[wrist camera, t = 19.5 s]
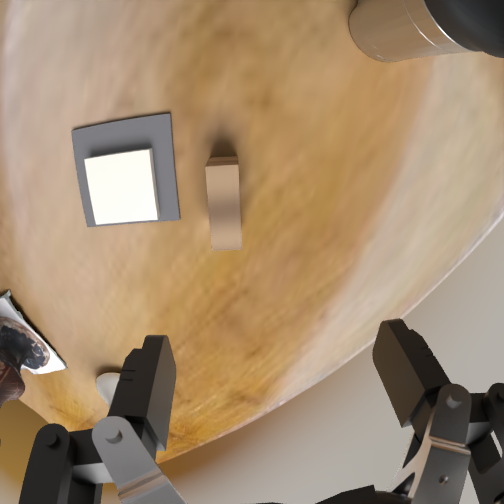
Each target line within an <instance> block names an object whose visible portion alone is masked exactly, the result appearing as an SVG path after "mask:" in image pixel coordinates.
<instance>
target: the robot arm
mask: <svg viewBox="0 0 504 504" xmlns="http://www.w3.org/2000/svg"><path fill="white" fill-rule="evenodd" d="M349 29H350V33H351V36H352V38H353V40H354V42H355V43H356V45H357V46H358V47H359V48H360V49H361V50H362V51H363V52H364V53H365V54H366V55H368V56H369V57H371V58H373V59H375V60H378V61H381V62H396V61H402V60H407V59H413V58H420V57H427V56H435V55H443V54H453V53H463V52H477V51H483V52H485V53H487V54H489V55H492V56H495V57H499V58H504V0H358V5H357V6H356V8H355V9H354V10H353V11H352V13H351V15H350V19H349ZM373 362H374V365H375V367H376V369H377V371H378V373H379V376H380V378H381V380H382V382H383V385H384V387H385V389H386V392H387V394H388V396H389V398H390V401H391V403H392V406H393V408H394V410H395V413H396V415H397V417H398V420H399V422H400V425H401V427H402V428H403V427H406V426H409V425H412V426H413V429H414V430H413V432H412V433H411V437H410V439H409V442H408V445H407V448H406V451H405V453H404V456H403V459H402V461H401V464H400V466H399V469H398V471H397V473H396V475H395V477H394V478H393V480H392V481H391V483H390V485H389V486H388V488H387V490H386V491H375V488H374V485H370V486H366V487H362V488H358V489H354V490H349V491H345V492H341V493H339V494H337V495H335V496H333V497H330V498H328V499H326V500H323V501H321V502H318V503H316V504H459V501H460V497H461V494H462V490H463V487H464V483H465V478H466V475H467V470H468V471H469V473H470V476H471V479H472V482H473V485H474V488H475V491H476V494H477V497H478V500H479V504H504V383H495V384H493V385H492V386H491V387H490V389H489V390H488V392H487V393H469V392H468V391H467V389H465V388H464V387H462V386H461V385H458V384H452V383H451V382H450V381H449V379H448V377H447V375H446V374H445V372H444V370H443V369H442V367H441V365H440V364H439V362H438V361H437V359H436V357H435V356H433V353H432V351H431V349H430V348H428V345H427V343H426V342H425V340H424V339H423V337H422V336H420V335H419V334H418V333H417V332H415V331H414V330H413V329H412V330H409V329H408V327H407V326H406V324H405V323H404V321H403V320H402V319H400V318H399V319H392V320H386V321H382V322H381V324H380V327H379V331H378V334H377V338H376V341H375V344H374V348H373ZM175 381H176V365H175V361H174V357H173V353H172V350H171V346H170V343H169V339H168V336H167V335H147V336H146V337H145V340H144V343H143V347H142V349H133V350H132V351H131V353H130V354H129V355H128V356H127V357H126V358H125V361H124V364H123V367H122V372H121V373H120V377H119V381H118V383H117V386H116V389H115V393H114V396H113V399H112V403H111V406H110V409H109V413H108V415H107V417H106V418H103V419H101V420H100V421H99V422H98V423H97V424H96V425H95V426H94V428H92V429H88V430H81V431H73V432H68V431H67V430H66V429H65V427H63V426H62V425H60V424H55V423H53V424H48V425H45V426H44V427H42V428H41V429H40V430H39V431H38V433H37V435H36V438H35V441H34V444H33V447H32V451H31V455H30V458H29V462H28V465H27V469H26V473H25V477H24V481H23V486H22V490H21V495H20V500H19V504H100V503H101V494H102V486H103V483H107V482H114V483H115V485H116V487H117V489H118V490H119V494H118V496H119V498H120V501H121V503H122V504H187V502H186V501H185V500H184V499H183V498H182V496H181V495H180V494H179V493H178V491H177V490H176V489H175V488H174V486H173V485H172V484H171V482H170V481H169V480H168V478H167V477H166V475H165V474H164V473H163V472H162V470H161V469H160V467H159V466H158V464H157V463H156V461H155V458H156V451H157V450H159V451H166V446H167V438H168V430H169V422H170V415H171V408H172V401H173V394H174V388H175ZM493 430H494V432H495V435H496V437H497V439H498V441H499V443H500V446H501V448H502V452H503V454H502V458H501V457H500V454H499V452H498V450H497V447H496V445H495V443H494V440H493V438H492V436H491V433H492V432H493ZM258 504H281V503H273V502H272V503H258Z"/></svg>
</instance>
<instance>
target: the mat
mask: <svg viewBox="0 0 504 504" xmlns="http://www.w3.org/2000/svg"><path fill="white" fill-rule="evenodd" d="M71 132H72V141H73V149H74V156H75V163H76V170H77V176H78V182H79V188H80V193H81V199H82V204H83V209H84V214H85V218H86V223H87V227H96V226H107V225H119V224H132V223H145V222H159V221H174V220H180V211H179V202H178V193H177V183H176V173H175V162H174V151H173V138H172V124H171V113H170V114H162V115H154V116H147V117H140V118H134V119H128V120H122V121H116V122H111V123H105V124H100V125H95V126H91V127H86V128H81V129H77V130H73V131H71ZM148 148H152V152H153V162H154V171H155V180H156V188H157V196H158V204H159V211H160V217H159V218H158V220H146V221H133V222H121V223H109V224H98V225H96V222H95V218H94V213H93V208H92V203H91V197H90V192H89V186H88V180H87V174H86V167H85V160H84V159H86V158H89V157H94V156H100V155H106V154H112V153H119V152H125V151H133V150H140V149H148Z"/></svg>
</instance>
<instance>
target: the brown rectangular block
mask: <svg viewBox="0 0 504 504" xmlns="http://www.w3.org/2000/svg"><path fill="white" fill-rule="evenodd" d="M205 170H206V184H207V196H208V208H209V220H210V231H211V241H212V251H222V250H241V249H242V235H241V214H240V193H239V171H238V156H229V157H213V158H209V160H208V162H207V164H206V166H205Z"/></svg>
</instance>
